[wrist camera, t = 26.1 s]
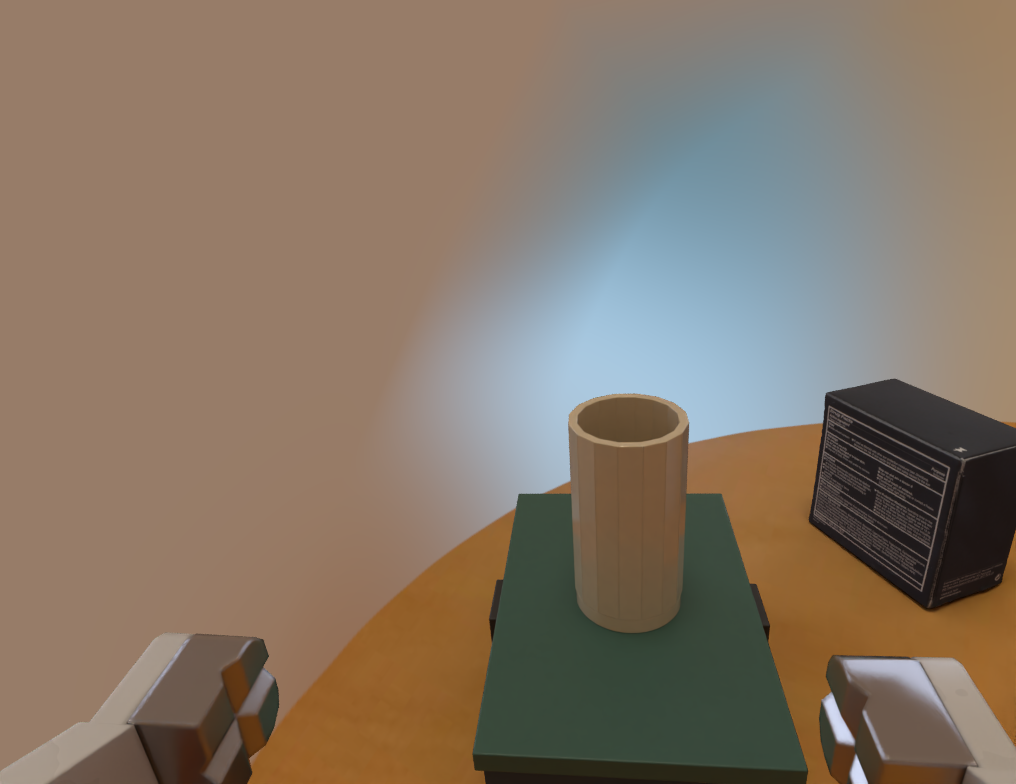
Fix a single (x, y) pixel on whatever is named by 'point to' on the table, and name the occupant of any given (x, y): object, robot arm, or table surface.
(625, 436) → the cup
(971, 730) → the robot arm
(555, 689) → the box
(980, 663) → the table surface
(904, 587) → the small box
